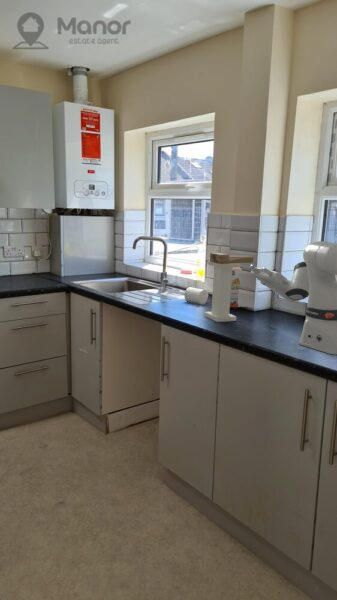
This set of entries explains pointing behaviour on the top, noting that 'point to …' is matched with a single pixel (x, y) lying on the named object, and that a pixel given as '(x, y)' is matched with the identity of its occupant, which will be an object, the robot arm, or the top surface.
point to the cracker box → (235, 286)
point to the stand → (221, 292)
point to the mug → (196, 295)
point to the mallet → (229, 258)
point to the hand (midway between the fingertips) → (256, 267)
